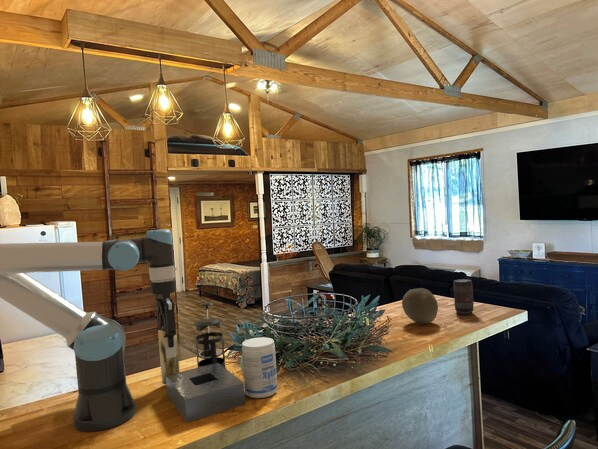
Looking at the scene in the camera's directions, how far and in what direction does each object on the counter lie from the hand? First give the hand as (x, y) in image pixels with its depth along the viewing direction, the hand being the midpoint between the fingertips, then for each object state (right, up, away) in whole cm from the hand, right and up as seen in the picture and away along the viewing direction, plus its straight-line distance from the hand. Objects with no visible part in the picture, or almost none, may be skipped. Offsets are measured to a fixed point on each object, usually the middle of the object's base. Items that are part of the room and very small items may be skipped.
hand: (168, 354), depth 134 cm
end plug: (+1, -8, 0) cm, 8 cm away
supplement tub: (+29, -8, -9) cm, 32 cm away
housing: (+14, -9, -12) cm, 20 cm away
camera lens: (+114, 0, +59) cm, 129 cm away
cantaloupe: (+92, -2, +48) cm, 104 cm away
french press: (+11, -9, +10) cm, 18 cm away
